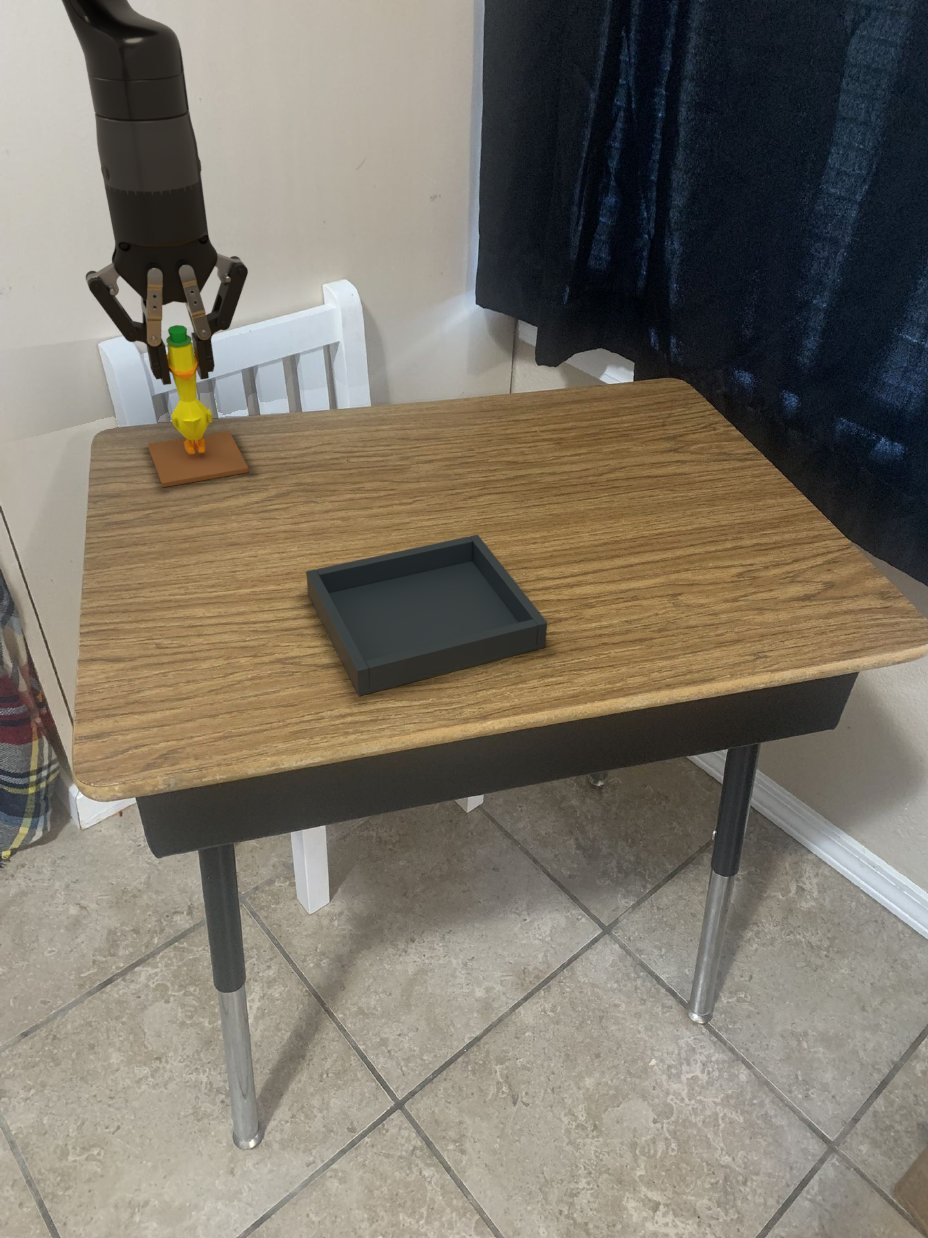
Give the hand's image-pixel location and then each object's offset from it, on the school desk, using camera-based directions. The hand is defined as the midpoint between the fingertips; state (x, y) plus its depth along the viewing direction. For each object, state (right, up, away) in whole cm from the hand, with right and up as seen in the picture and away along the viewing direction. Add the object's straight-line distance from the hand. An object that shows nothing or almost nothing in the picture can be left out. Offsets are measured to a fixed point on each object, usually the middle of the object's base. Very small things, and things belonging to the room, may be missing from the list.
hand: (184, 377), depth 88 cm
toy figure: (0, -6, +5) cm, 7 cm away
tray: (+22, -22, -13) cm, 34 cm away
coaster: (0, -7, +5) cm, 8 cm away
